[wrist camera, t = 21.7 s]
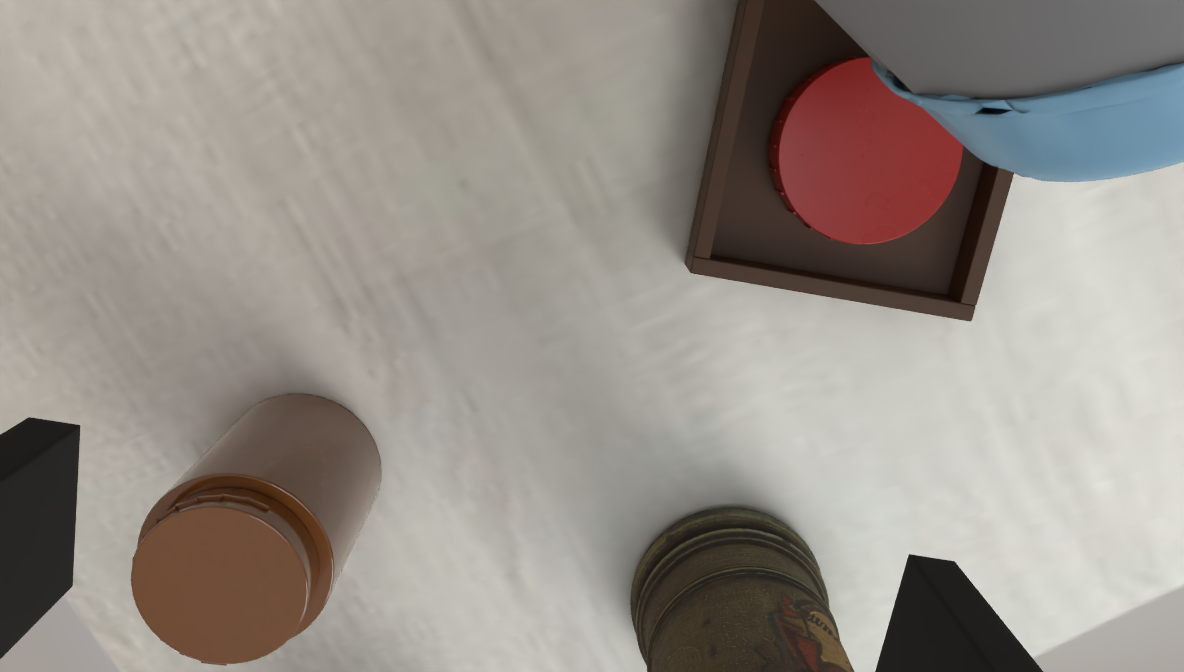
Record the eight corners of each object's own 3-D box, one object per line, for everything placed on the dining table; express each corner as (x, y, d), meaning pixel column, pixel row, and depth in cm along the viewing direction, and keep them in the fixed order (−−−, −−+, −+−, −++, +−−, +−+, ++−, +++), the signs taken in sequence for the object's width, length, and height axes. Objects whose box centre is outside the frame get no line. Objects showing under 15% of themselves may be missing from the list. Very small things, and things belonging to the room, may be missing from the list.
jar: (230, 381, 42) (121, 477, 32) (390, 407, 42) (333, 510, 32) (217, 526, 44) (110, 662, 33) (371, 549, 44) (311, 690, 34)
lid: (918, 253, 41) (934, 261, 39) (748, 220, 40) (757, 227, 38) (968, 76, 39) (988, 75, 37) (791, 39, 38) (803, 36, 37)
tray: (744, -30, 38) (753, -36, 36) (1032, 26, 39) (1057, 23, 37) (683, 264, 41) (689, 273, 39) (953, 310, 42) (972, 322, 40)
